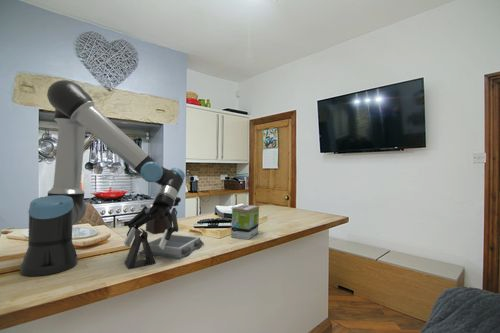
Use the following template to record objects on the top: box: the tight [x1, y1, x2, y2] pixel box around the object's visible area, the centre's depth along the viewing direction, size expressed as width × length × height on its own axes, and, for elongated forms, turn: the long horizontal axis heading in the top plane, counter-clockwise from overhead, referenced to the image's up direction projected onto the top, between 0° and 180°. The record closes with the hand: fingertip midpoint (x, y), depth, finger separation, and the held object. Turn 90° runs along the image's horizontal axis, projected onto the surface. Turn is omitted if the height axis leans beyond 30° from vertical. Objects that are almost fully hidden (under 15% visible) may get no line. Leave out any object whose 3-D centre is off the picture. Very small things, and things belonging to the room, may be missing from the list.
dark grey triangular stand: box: [124, 227, 157, 270], centre depth 91 cm, size 9×6×12 cm, turn 126°
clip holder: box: [138, 234, 204, 260], centre depth 107 cm, size 19×20×4 cm
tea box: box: [230, 204, 260, 240], centre depth 133 cm, size 15×10×15 cm, turn 161°
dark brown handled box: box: [145, 196, 182, 235], centre depth 140 cm, size 16×11×18 cm
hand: (143, 246), depth 91 cm, fingers open, 13 cm apart
